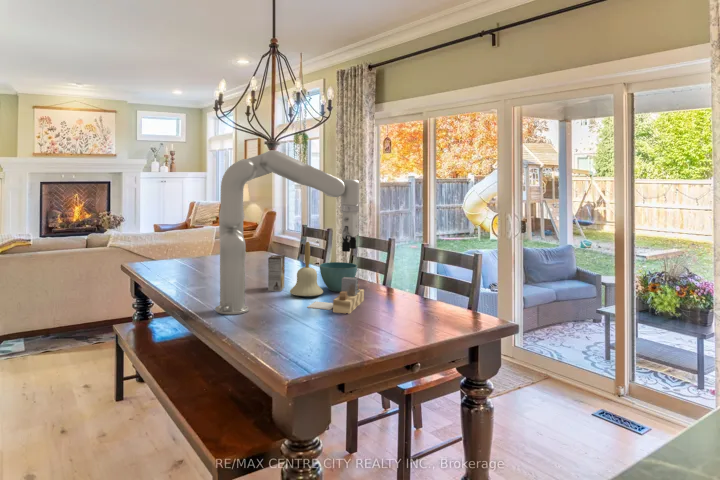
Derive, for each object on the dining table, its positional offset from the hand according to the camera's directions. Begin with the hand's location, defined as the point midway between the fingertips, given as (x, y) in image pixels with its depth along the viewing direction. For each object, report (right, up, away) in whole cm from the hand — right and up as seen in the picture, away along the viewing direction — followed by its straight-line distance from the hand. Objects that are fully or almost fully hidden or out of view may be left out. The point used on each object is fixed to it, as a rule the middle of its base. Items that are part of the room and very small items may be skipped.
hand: (349, 250), depth 204 cm
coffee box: (-36, -20, +31) cm, 51 cm away
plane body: (0, -24, +2) cm, 24 cm away
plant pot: (-6, -20, +34) cm, 40 cm away
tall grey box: (0, -19, +2) cm, 19 cm away
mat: (-11, -24, +1) cm, 26 cm away
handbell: (-20, -22, +20) cm, 35 cm away
